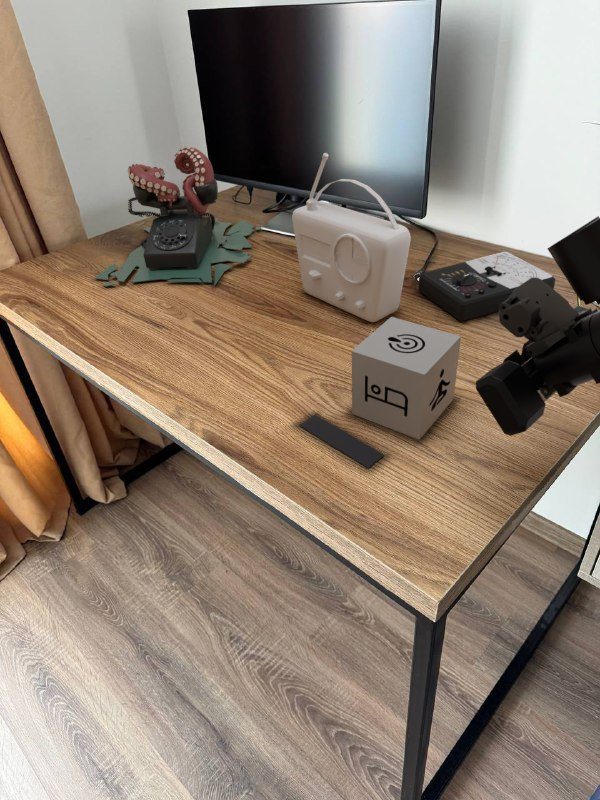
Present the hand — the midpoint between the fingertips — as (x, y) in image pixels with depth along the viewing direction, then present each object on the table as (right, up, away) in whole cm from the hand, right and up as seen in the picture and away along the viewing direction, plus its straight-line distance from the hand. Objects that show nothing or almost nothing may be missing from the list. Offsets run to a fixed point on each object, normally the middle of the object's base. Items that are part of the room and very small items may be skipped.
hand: (488, 390), depth 67 cm
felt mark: (-16, -6, +8) cm, 19 cm away
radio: (-13, +16, +38) cm, 43 cm away
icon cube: (-7, -2, +13) cm, 15 cm away
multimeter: (+11, +18, +37) cm, 42 cm away
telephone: (-47, +31, +61) cm, 83 cm away
